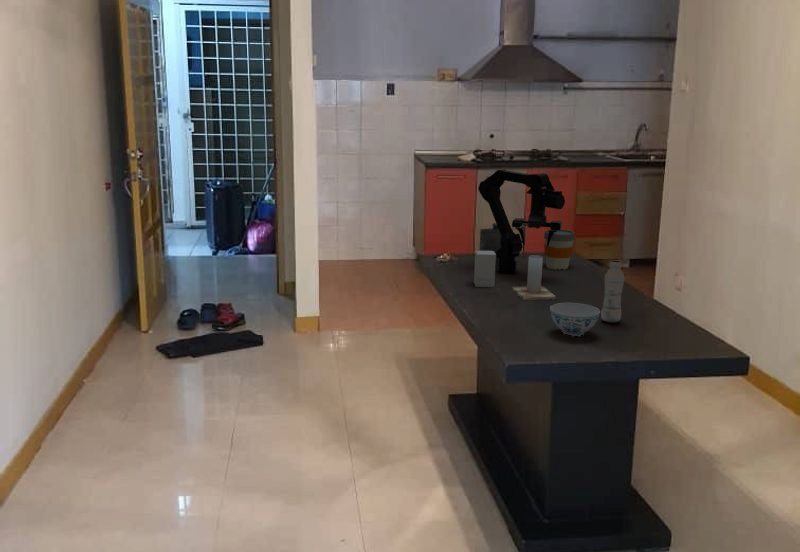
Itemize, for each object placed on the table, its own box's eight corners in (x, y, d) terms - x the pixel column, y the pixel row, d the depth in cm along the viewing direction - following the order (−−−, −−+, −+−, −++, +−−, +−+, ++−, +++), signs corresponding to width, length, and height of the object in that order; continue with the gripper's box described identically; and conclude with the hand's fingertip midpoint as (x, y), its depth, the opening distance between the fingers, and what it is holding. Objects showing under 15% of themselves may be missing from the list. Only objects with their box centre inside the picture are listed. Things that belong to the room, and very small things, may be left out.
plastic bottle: (598, 322, 253) (602, 262, 248) (603, 317, 259) (608, 258, 254) (618, 325, 250) (623, 264, 245) (622, 320, 256) (628, 260, 251)
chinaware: (562, 323, 252) (564, 299, 250) (606, 332, 243) (608, 308, 241) (539, 333, 241) (541, 309, 239) (584, 344, 232) (586, 319, 230)
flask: (477, 265, 329) (478, 223, 325) (508, 264, 333) (510, 222, 329) (480, 267, 326) (482, 224, 322) (512, 266, 330) (514, 223, 325)
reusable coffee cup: (540, 269, 325) (542, 233, 322) (543, 262, 337) (546, 228, 333) (571, 271, 322) (573, 235, 318) (573, 265, 333) (576, 230, 330)
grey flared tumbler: (524, 291, 285) (526, 256, 282) (531, 288, 289) (533, 254, 286) (535, 294, 282) (538, 258, 279) (543, 291, 286) (545, 256, 283)
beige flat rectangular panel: (511, 289, 292) (512, 286, 292) (542, 288, 294) (543, 286, 293) (523, 300, 278) (523, 297, 277) (556, 299, 279) (556, 296, 279)
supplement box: (494, 287, 295) (496, 254, 292) (475, 287, 295) (476, 254, 292) (492, 282, 302) (494, 250, 299) (473, 282, 302) (474, 250, 299)
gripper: (510, 207, 298) (508, 247, 302) (559, 210, 293) (556, 251, 296) (515, 203, 309) (513, 242, 312) (563, 206, 303) (560, 246, 307)
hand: (535, 245), depth 307 cm, fingers open, 9 cm apart
